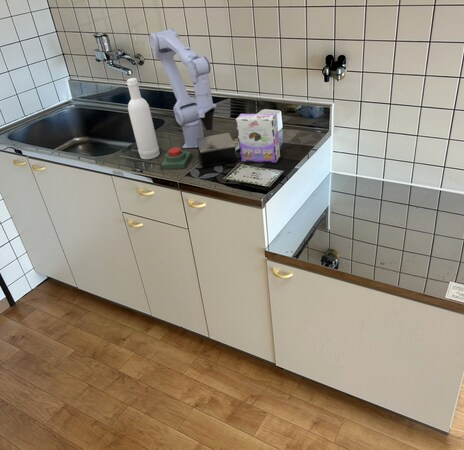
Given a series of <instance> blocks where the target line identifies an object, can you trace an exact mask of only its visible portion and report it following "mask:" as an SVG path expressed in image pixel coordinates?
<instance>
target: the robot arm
mask: <svg viewBox="0 0 464 450" xmlns="http://www.w3.org/2000/svg"><path fill="white" fill-rule="evenodd" d="M149 45H150V48H151V50H152V53H153V55H154V57H155V58H156V59H158V60H160V63H161V65H162V67H163V70H164V72H165V75H166V77H167V79H168V82H169V85H170V88H171V90H172V92H173V95H174V96H175V99H176V102H175V104H174V106H173V113H174V118H175V120H176V122H177V124H178V125H179V126H181V130H182V134H183V139H184V144H183V145H182V149H195V148H196V149H198V146H197V141H196V138H202V137H205V134H204V129H205V130H206V131H212V130H213V127H214V126H213V124H214V114H215V111H216V109H215V108H217V106H218V105H217V103H214V101H213V96H212V89H211V83H210V76H209V74H210V73H211V70H212V68H211V67H212V66H211V63H210V61H209V59H208V58H207V56H205V55H203V56H202V55H199V54H198V53H196V52H195V50H193V48H192V47H190V46H185V44H184V43H182V41H181V40H180V36H179V33H178V31H177V30H176V29H175V28H174V27H173V28H170V29H166V30H161V31H157V32H151V33H150V35H149ZM176 54H177V55H178V60H179V61H180V62H181V63H182V64H183V65H184V66H185V67H186V68H187V72H188V74H189V77H190V81H191V82H192V85H193V89H194V95H195V98H194V97H191V96H190V95H189V93H188V90H187V87H186V85H185V83H184V80H183V78H182V75H181V73H180V71H179V68H178V65H177V64H176V61H175V58H174V57H175V55H176ZM203 127H204V128H203Z"/></svg>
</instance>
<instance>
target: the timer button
mask: <svg viewBox="0 0 464 450" xmlns="http://www.w3.org/2000/svg"><path fill="white" fill-rule="evenodd" d="M180 149H181V148H180V147H172V148H170V149H168V152H169V155H170V156H171V157H174V156H179V155H181V150H182V149H181V150H180Z"/></svg>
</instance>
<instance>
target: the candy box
mask: <svg viewBox="0 0 464 450" xmlns="http://www.w3.org/2000/svg"><path fill="white" fill-rule="evenodd" d="M235 126H236V134H237V140H238V146H239V148H238V149H239V155H240V156H239V157H240V161H241V162H248V163H249V162H250V163H272V164H273V163H275V164H277V162H278V161H279V159H280V158H281V150H280V149H281V147H280V136H279V124H278V114H277V113H240V114H239V115H238V116H237V117H236V118H235Z"/></svg>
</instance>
